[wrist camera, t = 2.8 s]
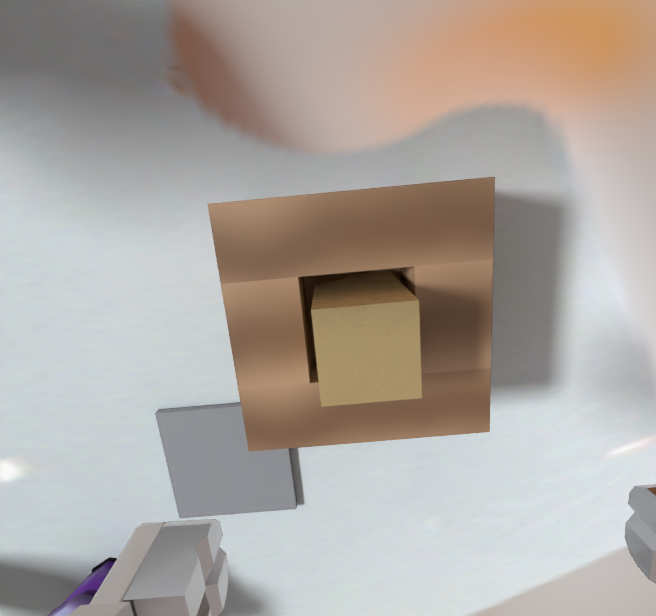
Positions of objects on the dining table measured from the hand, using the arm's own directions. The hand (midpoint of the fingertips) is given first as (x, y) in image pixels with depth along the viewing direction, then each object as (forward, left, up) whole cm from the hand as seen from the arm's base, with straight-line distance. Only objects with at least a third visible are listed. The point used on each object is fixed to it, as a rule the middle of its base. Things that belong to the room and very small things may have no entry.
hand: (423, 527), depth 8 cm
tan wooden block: (0, 0, -17) cm, 17 cm away
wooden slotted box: (0, 0, -21) cm, 21 cm away
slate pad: (+13, -11, -21) cm, 27 cm away
